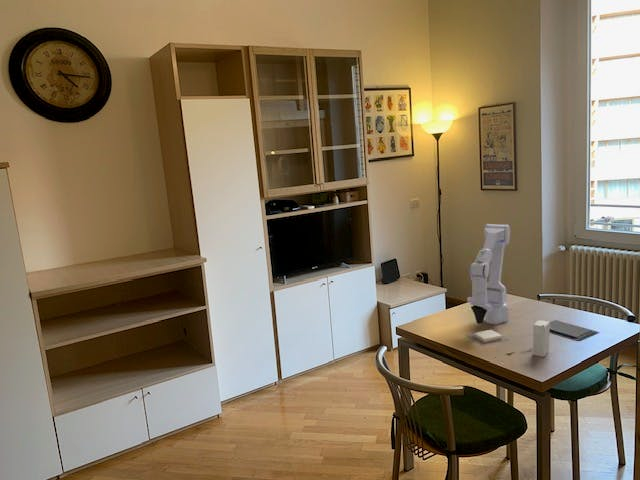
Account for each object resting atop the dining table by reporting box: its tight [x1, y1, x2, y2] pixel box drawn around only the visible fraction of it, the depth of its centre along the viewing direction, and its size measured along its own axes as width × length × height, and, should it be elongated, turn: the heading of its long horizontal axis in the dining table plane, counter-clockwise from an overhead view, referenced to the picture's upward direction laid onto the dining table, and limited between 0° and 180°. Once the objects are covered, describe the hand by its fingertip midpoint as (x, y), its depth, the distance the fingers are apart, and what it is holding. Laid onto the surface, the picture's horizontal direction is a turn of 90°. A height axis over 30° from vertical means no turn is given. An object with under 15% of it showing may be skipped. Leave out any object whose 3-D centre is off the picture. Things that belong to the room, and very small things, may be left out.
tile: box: [473, 329, 503, 343], centre depth 203 cm, size 8×2×7 cm
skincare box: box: [532, 320, 551, 358], centre depth 188 cm, size 6×4×12 cm
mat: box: [465, 333, 511, 347], centre depth 204 cm, size 13×12×1 cm
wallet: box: [549, 319, 600, 342], centre depth 209 cm, size 20×2×15 cm
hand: (479, 323), depth 208 cm, fingers closed
